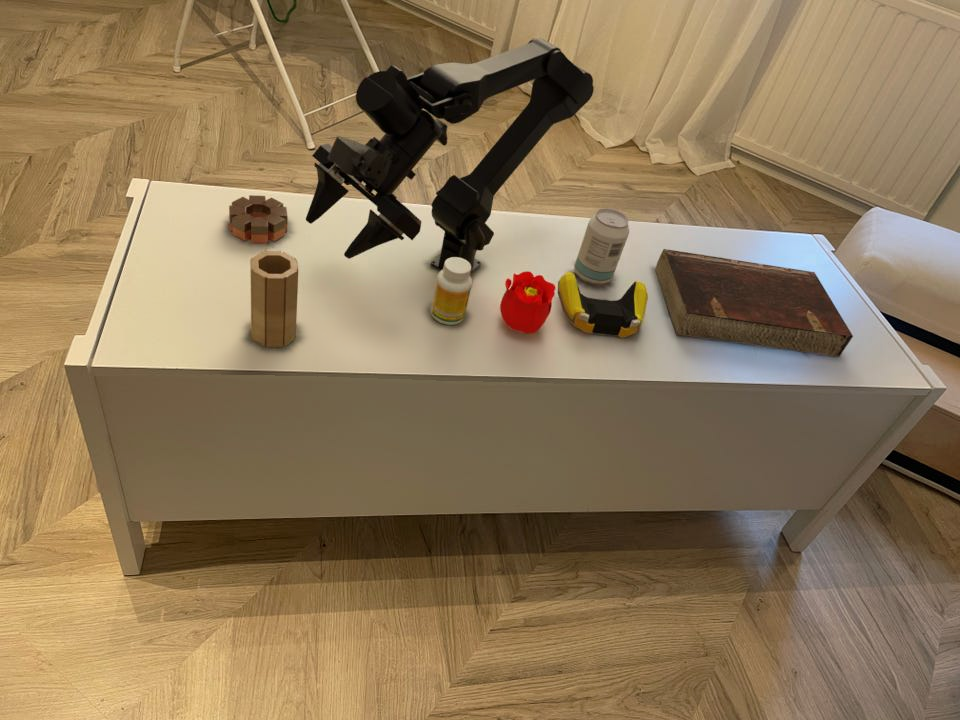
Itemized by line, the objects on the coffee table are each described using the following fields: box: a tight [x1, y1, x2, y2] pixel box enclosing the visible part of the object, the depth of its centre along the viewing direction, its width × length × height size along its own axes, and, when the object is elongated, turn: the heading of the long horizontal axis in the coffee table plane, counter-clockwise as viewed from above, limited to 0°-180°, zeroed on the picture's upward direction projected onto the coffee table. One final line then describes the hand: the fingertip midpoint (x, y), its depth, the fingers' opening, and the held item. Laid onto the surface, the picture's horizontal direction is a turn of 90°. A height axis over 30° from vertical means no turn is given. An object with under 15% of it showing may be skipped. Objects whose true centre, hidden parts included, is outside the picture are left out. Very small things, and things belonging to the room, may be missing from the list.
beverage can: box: [573, 208, 630, 286], centre depth 131 cm, size 7×7×12 cm
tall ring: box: [249, 250, 299, 348], centre depth 106 cm, size 6×6×12 cm
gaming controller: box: [557, 271, 649, 339], centre depth 125 cm, size 15×6×10 cm
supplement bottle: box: [430, 257, 473, 326], centre depth 117 cm, size 5×5×10 cm
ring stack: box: [228, 195, 288, 244], centre depth 126 cm, size 9×9×3 cm
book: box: [654, 248, 854, 358], centre depth 134 cm, size 29×19×5 cm, turn 91°
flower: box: [499, 270, 556, 335], centre depth 119 cm, size 8×8×8 cm
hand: (326, 239), depth 106 cm, fingers open, 9 cm apart
